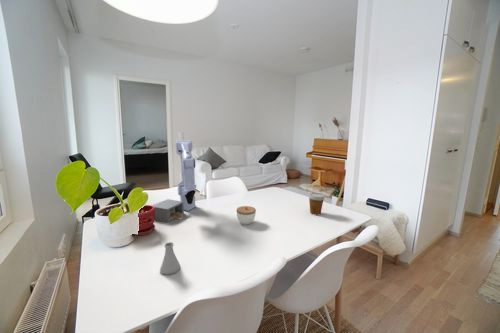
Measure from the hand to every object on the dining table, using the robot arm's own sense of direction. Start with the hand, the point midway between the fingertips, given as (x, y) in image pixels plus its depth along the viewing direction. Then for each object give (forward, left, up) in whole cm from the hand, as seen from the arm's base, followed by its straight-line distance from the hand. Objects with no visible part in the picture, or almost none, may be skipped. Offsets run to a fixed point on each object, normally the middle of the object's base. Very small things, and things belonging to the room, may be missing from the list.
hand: (190, 203), depth 125 cm
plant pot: (+21, -14, -10) cm, 27 cm away
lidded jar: (-10, +30, -10) cm, 33 cm away
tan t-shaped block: (0, -12, -10) cm, 16 cm away
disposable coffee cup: (-40, +65, -10) cm, 77 cm away
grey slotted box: (0, -16, -10) cm, 19 cm away
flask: (+40, +20, -10) cm, 46 cm away
